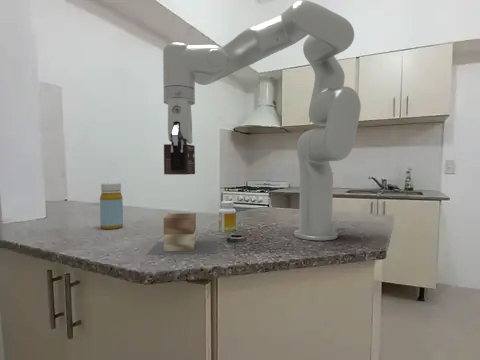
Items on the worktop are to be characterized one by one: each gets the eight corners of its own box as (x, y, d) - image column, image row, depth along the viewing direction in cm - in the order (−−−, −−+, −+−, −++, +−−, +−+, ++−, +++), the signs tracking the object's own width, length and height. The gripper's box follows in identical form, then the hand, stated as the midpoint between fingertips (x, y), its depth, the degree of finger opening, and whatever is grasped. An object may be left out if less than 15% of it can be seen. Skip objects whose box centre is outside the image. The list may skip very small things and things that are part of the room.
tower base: (195, 243, 84) (195, 228, 83) (193, 250, 77) (193, 234, 76) (168, 244, 83) (168, 228, 83) (163, 251, 76) (163, 234, 76)
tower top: (195, 228, 83) (195, 213, 83) (193, 234, 76) (193, 217, 76) (168, 228, 83) (168, 213, 83) (163, 234, 76) (163, 217, 76)
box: (187, 175, 76) (187, 143, 75) (163, 174, 77) (162, 144, 76) (195, 174, 82) (195, 145, 81) (173, 174, 83) (173, 145, 82)
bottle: (101, 226, 111) (101, 183, 110) (123, 225, 113) (122, 182, 112) (99, 230, 104) (98, 184, 103) (122, 229, 106) (121, 183, 105)
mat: (217, 243, 86) (217, 241, 86) (216, 255, 74) (216, 253, 74) (157, 244, 86) (157, 241, 86) (146, 256, 74) (146, 254, 74)
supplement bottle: (239, 231, 102) (239, 201, 101) (230, 235, 97) (230, 203, 96) (225, 230, 104) (224, 200, 104) (215, 233, 100) (215, 202, 99)
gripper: (191, 88, 70) (191, 170, 71) (197, 104, 87) (197, 169, 88) (156, 88, 69) (157, 170, 70) (169, 103, 87) (170, 169, 88)
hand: (179, 169), depth 79 cm, fingers closed on box, 6 cm apart
